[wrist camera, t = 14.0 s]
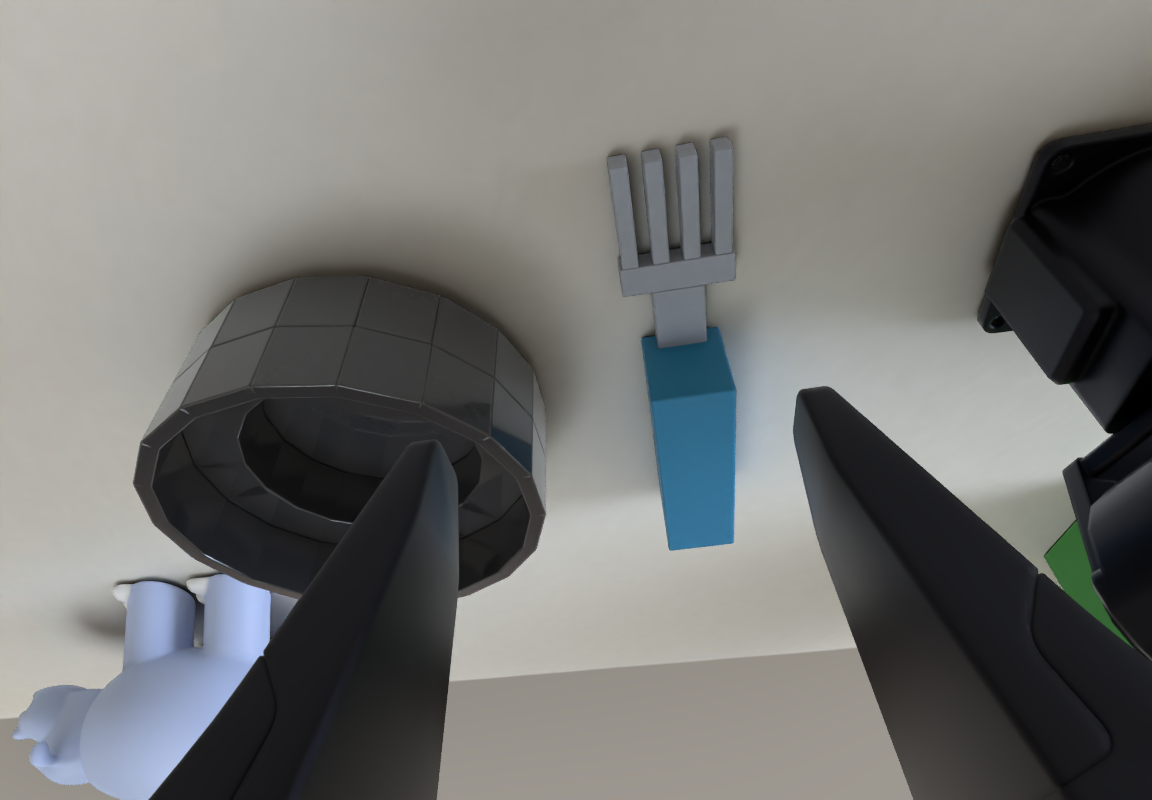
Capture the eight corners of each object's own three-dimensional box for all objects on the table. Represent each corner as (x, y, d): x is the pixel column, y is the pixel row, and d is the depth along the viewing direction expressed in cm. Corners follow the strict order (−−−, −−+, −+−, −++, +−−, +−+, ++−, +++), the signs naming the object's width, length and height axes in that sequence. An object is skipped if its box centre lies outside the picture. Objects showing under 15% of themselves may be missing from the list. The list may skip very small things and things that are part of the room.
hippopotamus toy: (7, 592, 33) (-124, 811, 27) (293, 562, 32) (229, 784, 25) (140, 672, 41) (63, 857, 34) (373, 651, 40) (340, 838, 33)
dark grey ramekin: (497, 233, 19) (486, 351, 16) (569, 479, 28) (573, 589, 24) (115, 297, 20) (27, 419, 17) (300, 514, 29) (267, 623, 26)
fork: (730, 481, 28) (744, 543, 26) (651, 491, 29) (659, 552, 27) (732, 134, 17) (758, 194, 15) (602, 157, 17) (610, 218, 15)
